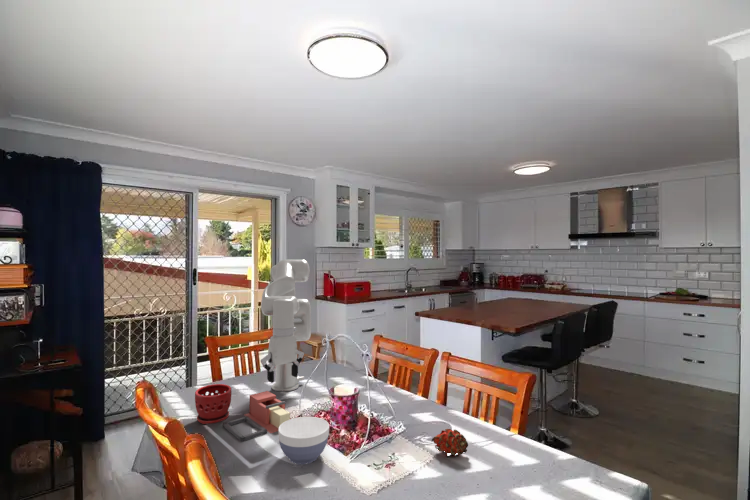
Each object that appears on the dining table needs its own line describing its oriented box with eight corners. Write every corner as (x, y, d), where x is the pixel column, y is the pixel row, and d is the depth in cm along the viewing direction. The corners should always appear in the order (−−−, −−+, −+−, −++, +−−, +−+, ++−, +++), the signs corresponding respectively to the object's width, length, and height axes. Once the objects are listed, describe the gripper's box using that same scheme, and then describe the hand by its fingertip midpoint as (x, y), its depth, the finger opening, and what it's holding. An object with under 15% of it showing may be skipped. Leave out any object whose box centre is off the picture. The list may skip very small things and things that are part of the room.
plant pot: (188, 420, 153) (189, 389, 153) (221, 410, 162) (222, 381, 162) (203, 431, 144) (204, 397, 144) (237, 420, 153) (237, 389, 154)
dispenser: (243, 417, 156) (243, 396, 156) (271, 409, 164) (271, 389, 164) (270, 436, 140) (270, 412, 140) (299, 426, 148) (300, 404, 148)
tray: (247, 421, 152) (247, 416, 152) (267, 435, 140) (267, 429, 140) (222, 428, 146) (222, 423, 146) (241, 444, 134) (241, 438, 134)
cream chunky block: (266, 420, 150) (267, 407, 150) (276, 417, 153) (276, 404, 153) (280, 429, 143) (280, 415, 143) (289, 426, 146) (290, 412, 146)
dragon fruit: (470, 465, 125) (434, 462, 130) (472, 439, 131) (438, 437, 136) (464, 449, 121) (426, 447, 126) (466, 424, 127) (430, 422, 132)
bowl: (285, 475, 115) (285, 442, 115) (272, 451, 129) (273, 421, 129) (336, 462, 122) (336, 431, 123) (319, 441, 137) (319, 413, 137)
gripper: (298, 328, 154) (297, 372, 154) (256, 333, 143) (256, 381, 143) (308, 330, 149) (308, 376, 149) (266, 337, 137) (266, 386, 137)
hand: (282, 378), depth 146 cm, fingers open, 9 cm apart
